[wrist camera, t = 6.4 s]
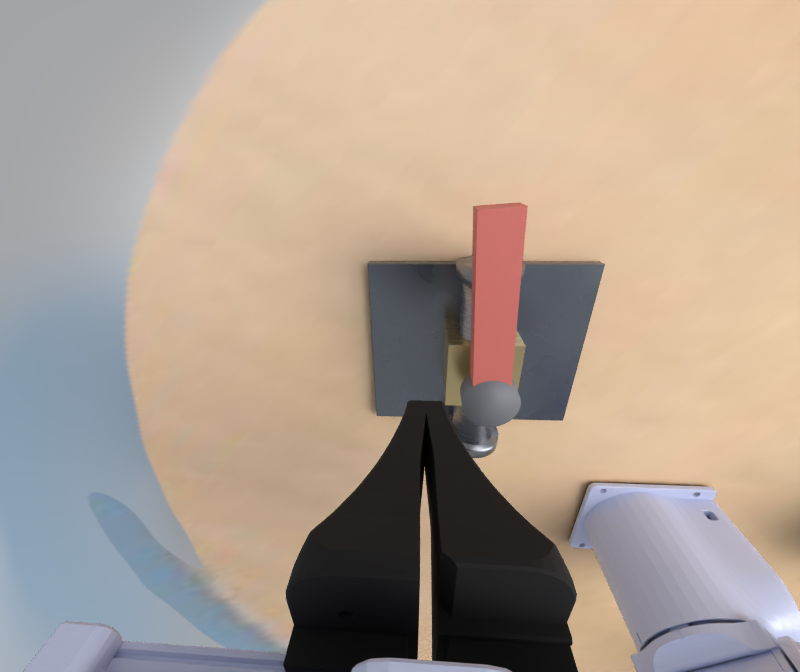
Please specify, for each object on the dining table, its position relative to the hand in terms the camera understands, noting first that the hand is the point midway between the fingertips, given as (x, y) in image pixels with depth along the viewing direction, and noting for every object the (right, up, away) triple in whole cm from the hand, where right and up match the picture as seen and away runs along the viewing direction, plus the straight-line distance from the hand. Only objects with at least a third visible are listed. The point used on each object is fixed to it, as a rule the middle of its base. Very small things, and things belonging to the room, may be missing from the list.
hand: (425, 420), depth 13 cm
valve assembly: (+4, +3, +9) cm, 10 cm away
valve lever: (+3, +4, +3) cm, 6 cm away
